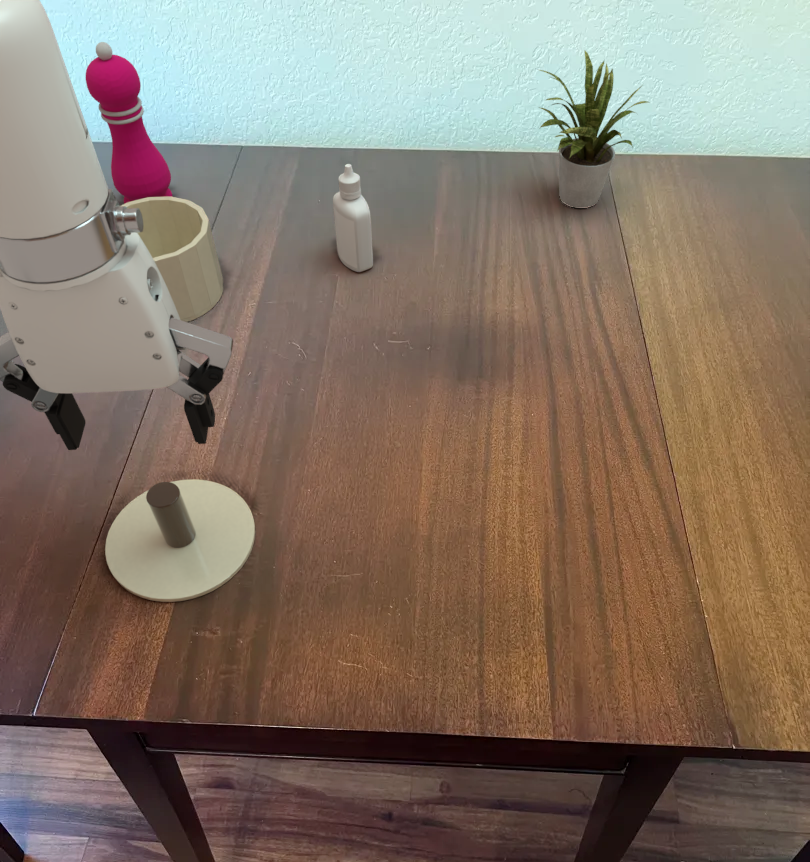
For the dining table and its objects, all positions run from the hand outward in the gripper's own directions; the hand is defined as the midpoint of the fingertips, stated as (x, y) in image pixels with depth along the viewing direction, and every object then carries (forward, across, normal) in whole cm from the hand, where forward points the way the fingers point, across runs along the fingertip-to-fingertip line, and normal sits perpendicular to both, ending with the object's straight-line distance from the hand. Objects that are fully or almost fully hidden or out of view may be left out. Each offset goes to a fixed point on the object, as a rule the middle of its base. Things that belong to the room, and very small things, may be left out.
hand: (140, 433), depth 60 cm
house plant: (+15, -45, -55) cm, 72 cm away
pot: (+14, +6, -37) cm, 40 cm away
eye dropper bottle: (+14, -16, -42) cm, 47 cm away
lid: (+14, 0, 0) cm, 14 cm away
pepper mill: (+14, +11, -55) cm, 58 cm away
